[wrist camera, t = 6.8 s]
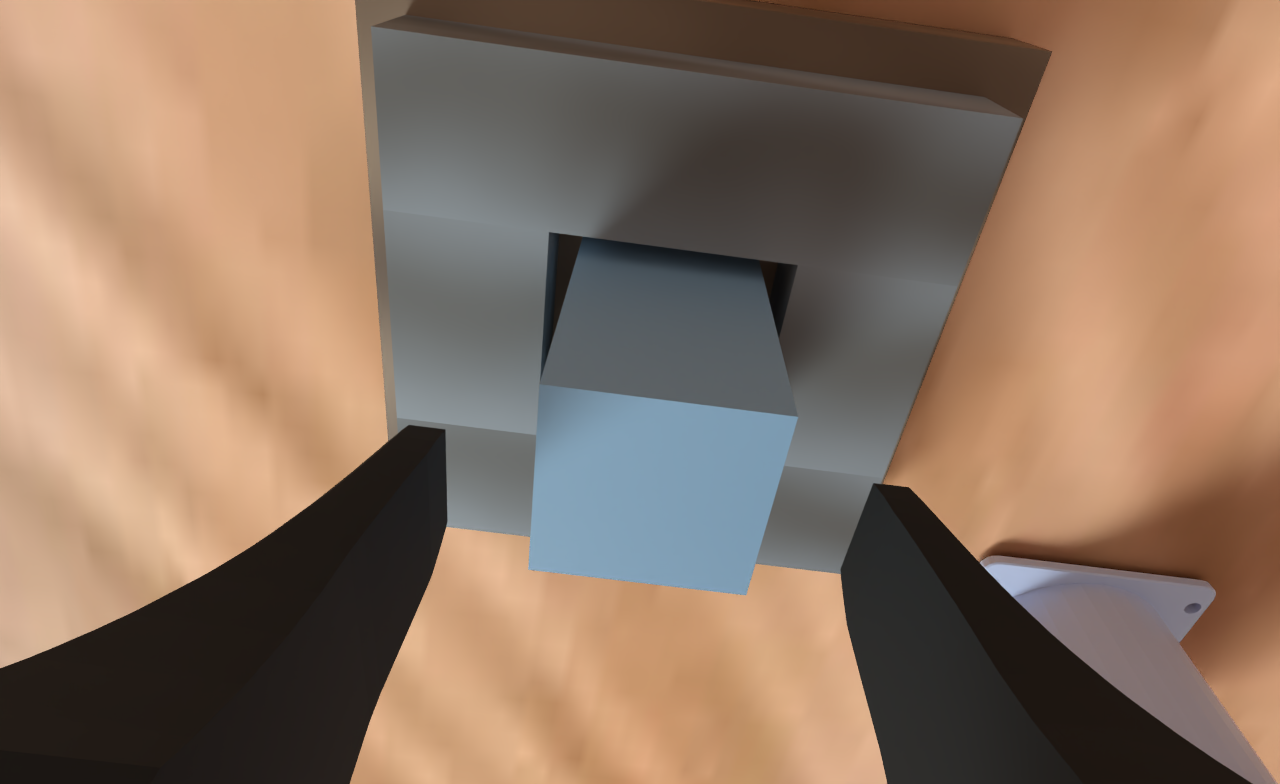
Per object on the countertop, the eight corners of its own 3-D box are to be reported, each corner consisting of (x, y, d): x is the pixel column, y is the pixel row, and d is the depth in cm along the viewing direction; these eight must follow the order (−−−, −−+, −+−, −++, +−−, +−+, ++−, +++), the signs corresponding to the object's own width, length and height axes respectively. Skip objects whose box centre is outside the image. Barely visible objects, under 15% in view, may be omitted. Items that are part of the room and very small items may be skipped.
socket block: (843, 508, 24) (870, 603, 21) (412, 455, 23) (369, 544, 20) (1013, 38, 16) (1100, 67, 13) (385, -53, 16) (308, -47, 13)
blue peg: (724, 390, 19) (745, 595, 13) (573, 371, 19) (528, 569, 13) (756, 248, 17) (797, 416, 11) (586, 225, 17) (539, 384, 11)
